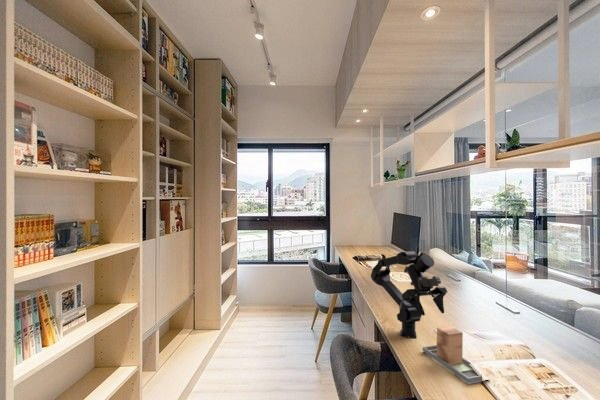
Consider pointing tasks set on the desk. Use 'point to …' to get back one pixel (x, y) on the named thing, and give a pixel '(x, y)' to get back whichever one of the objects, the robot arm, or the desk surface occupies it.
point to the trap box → (455, 367)
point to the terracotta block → (449, 344)
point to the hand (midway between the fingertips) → (433, 314)
